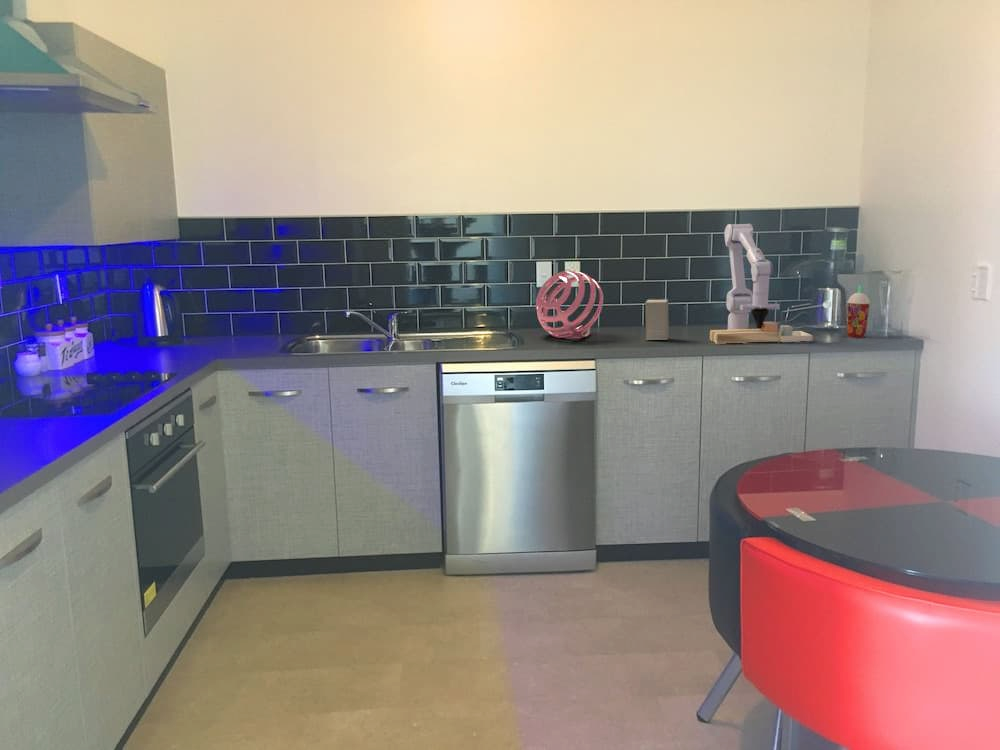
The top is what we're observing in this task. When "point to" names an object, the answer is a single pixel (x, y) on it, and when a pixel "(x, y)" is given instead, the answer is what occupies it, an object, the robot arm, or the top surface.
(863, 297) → the smoothie
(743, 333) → the board
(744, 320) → the robot arm
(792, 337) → the tray
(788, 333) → the tile
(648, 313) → the skincare box
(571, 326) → the spiral basket
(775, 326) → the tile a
